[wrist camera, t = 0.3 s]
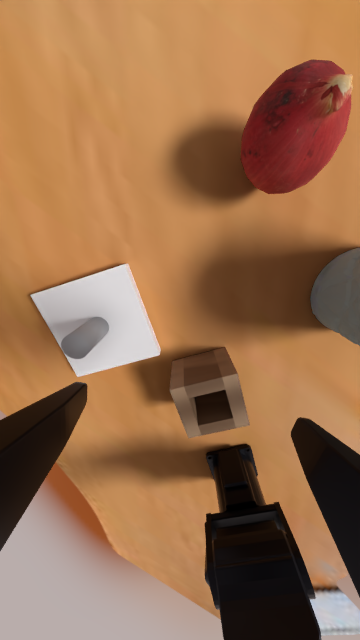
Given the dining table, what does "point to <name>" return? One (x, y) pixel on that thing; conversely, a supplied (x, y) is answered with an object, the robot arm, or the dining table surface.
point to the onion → (296, 126)
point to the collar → (208, 393)
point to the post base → (105, 304)
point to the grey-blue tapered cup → (339, 295)
